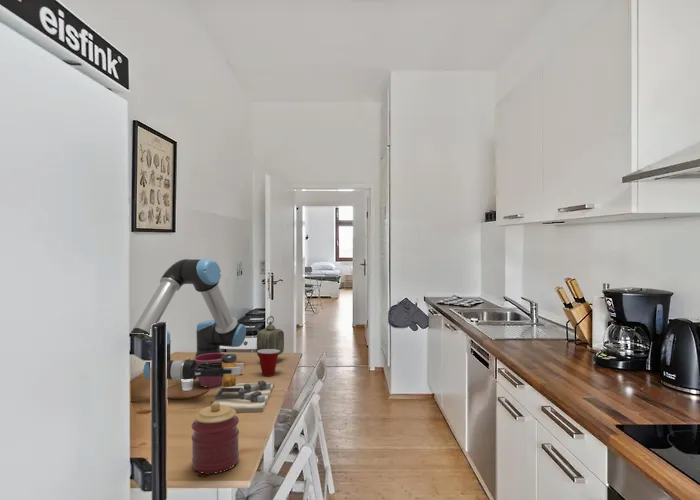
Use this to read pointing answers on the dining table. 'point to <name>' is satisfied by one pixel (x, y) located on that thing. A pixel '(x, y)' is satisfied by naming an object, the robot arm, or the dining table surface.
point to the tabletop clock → (270, 338)
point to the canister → (215, 439)
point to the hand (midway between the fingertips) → (241, 368)
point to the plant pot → (211, 380)
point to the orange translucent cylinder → (228, 361)
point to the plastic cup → (268, 361)
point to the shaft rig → (245, 396)
